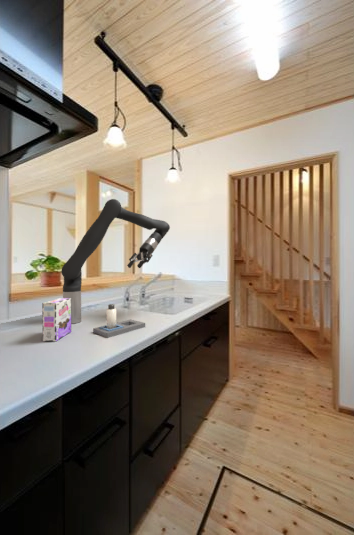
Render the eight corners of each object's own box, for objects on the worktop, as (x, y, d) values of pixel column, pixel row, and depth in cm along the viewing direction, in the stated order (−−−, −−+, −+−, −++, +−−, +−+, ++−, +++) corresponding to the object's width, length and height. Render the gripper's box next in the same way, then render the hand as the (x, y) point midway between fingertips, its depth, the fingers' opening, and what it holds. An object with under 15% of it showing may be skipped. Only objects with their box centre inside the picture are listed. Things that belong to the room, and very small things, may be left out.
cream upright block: (104, 332, 107) (104, 304, 107) (112, 330, 111) (112, 303, 111) (110, 334, 105) (110, 305, 104) (118, 331, 108) (118, 304, 108)
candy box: (55, 341, 94) (55, 302, 94) (42, 341, 95) (41, 302, 94) (72, 331, 108) (71, 297, 108) (59, 331, 108) (59, 297, 108)
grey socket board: (93, 332, 107) (93, 327, 107) (130, 322, 124) (130, 318, 124) (107, 337, 99) (107, 332, 99) (145, 326, 116) (145, 321, 116)
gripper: (137, 242, 135) (121, 262, 126) (154, 241, 126) (138, 262, 117) (144, 252, 139) (129, 271, 130) (160, 251, 130) (145, 272, 121)
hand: (133, 267), depth 124 cm, fingers open, 8 cm apart
